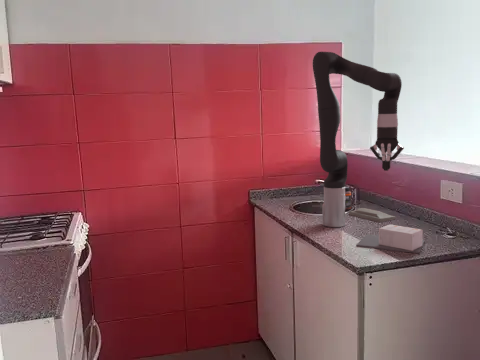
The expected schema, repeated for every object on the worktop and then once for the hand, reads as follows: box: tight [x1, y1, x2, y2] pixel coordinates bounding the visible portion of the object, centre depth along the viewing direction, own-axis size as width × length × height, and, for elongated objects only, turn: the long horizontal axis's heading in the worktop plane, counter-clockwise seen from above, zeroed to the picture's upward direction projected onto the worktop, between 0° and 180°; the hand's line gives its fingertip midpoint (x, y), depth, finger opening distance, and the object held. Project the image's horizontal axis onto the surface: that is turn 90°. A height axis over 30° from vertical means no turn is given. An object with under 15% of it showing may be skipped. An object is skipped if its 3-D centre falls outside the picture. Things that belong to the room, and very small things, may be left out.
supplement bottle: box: [345, 186, 352, 211], centre depth 232 cm, size 6×6×11 cm
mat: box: [356, 233, 426, 254], centre depth 170 cm, size 22×16×1 cm
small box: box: [378, 224, 424, 251], centre depth 165 cm, size 8×6×13 cm
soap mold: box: [348, 207, 397, 223], centre depth 213 cm, size 10×20×4 cm, turn 30°
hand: (386, 170), depth 176 cm, fingers closed
